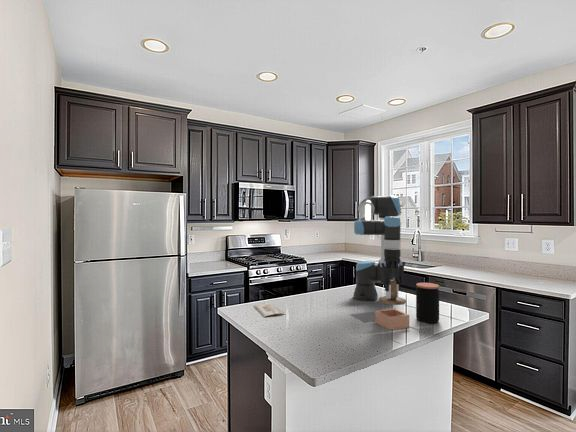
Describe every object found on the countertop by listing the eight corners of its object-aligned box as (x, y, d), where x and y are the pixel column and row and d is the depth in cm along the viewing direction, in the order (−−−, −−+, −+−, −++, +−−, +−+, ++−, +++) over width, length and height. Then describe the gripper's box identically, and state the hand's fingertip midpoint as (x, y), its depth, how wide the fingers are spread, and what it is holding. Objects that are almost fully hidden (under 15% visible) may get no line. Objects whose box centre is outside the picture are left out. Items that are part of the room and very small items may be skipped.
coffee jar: (421, 316, 174) (421, 281, 174) (442, 320, 167) (442, 284, 167) (412, 320, 167) (412, 284, 167) (433, 325, 159) (434, 288, 159)
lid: (394, 297, 168) (394, 277, 168) (411, 303, 156) (411, 282, 156) (373, 299, 163) (373, 279, 164) (389, 305, 152) (389, 283, 152)
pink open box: (394, 320, 167) (394, 308, 167) (409, 327, 156) (409, 314, 156) (375, 323, 163) (375, 310, 163) (389, 330, 153) (389, 317, 153)
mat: (372, 312, 181) (372, 311, 181) (388, 320, 167) (388, 319, 167) (349, 315, 176) (349, 314, 176) (364, 323, 163) (364, 322, 163)
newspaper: (286, 316, 176) (286, 311, 176) (264, 321, 172) (263, 316, 172) (273, 305, 198) (273, 300, 198) (253, 309, 194) (253, 304, 194)
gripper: (401, 247, 166) (401, 294, 166) (372, 248, 161) (372, 297, 160) (411, 248, 159) (411, 298, 159) (382, 250, 153) (382, 301, 153)
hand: (392, 297), depth 160 cm, fingers closed on lid, 4 cm apart
